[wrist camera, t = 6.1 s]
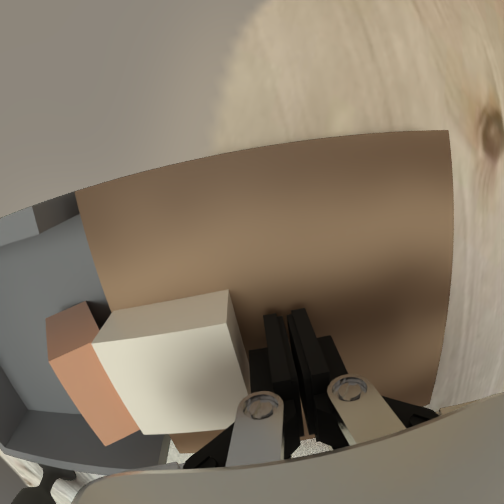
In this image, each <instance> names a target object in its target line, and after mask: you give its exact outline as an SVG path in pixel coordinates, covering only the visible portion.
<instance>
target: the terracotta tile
mask: <svg viewBox="0 0 504 504" xmlns="http://www.w3.org/2000/svg"><path fill="white" fill-rule="evenodd" d="M45 320H46V338H47V351H48V362H49V363H50V365H51V367H52V369H53V370H54V372H55V374H56V375H57V377H58V379H59V380H60V382H61V384H62V385H63V387H64V389H65V390H66V392H67V393H68V395H69V396H70V398H71V399H72V401H73V402H74V404H75V405H76V407H77V408H78V410H79V411H80V413H81V414H82V416H83V417H84V418H85V420H86V421H87V423H88V424H89V425H90V427H91V428H92V430H93V431H94V432H95V434H96V435H97V436H98V438H99V439H100V440H101V441H102V443H103V444H104V445H105V446H107V445H109V444H112V443H114V442H116V441H118V440H120V439H122V438H124V437H126V436H128V435H130V434H132V433H134V432H136V431H138V430H140V428H139V427H138V425H137V424H136V422H135V420H134V419H133V417H132V416H131V414H130V413H129V411H128V409H127V408H126V406H125V405H124V403H123V401H122V400H121V398H120V396H119V394H118V393H117V391H116V389H115V388H114V386H113V384H112V382H111V381H110V379H109V377H108V375H107V373H106V371H105V370H104V368H103V366H102V364H101V362H100V360H99V358H98V356H97V354H96V352H95V350H94V348H93V346H92V344H91V343H92V342H93V340H94V338H95V337H96V335H97V334H98V332H99V331H100V330H99V328H98V326H97V324H96V322H95V320H94V318H93V316H92V314H91V311H90V309H89V307H88V305H87V303H86V301H84V302H82V303H79V304H77V305H75V306H73V307H70V308H68V309H66V310H63V311H61V312H59V313H57V314H54V315H52V316H50V317H48V318H45Z"/></svg>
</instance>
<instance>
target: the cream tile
mask: <svg viewBox="0 0 504 504" xmlns="http://www.w3.org/2000/svg"><path fill="white" fill-rule="evenodd" d="M91 344H92V346H93V348H94V350H95V352H96V354H97V356H98V358H99V360H100V362H101V364H102V366H103V368H104V370H105V371H106V373H107V375H108V377H109V379H110V381H111V382H112V384H113V386H114V388H115V389H116V391H117V393H118V394H119V396H120V398H121V400H122V401H123V403H124V405H125V406H126V408H127V409H128V411H129V413H130V414H131V416H132V417H133V419H134V420H135V422H136V424H137V425H138V427H139V428H140V430H141V431H142V433H143V434H144V435H150V434H174V433H189V432H201V431H211V430H220V429H226V428H228V427H229V426H230V425H231V424H232V423H234V422H235V418H236V413H237V408H238V405H239V403H240V401H241V400H242V399H243V398H244V397H246V396H248V395H249V394H251V387H250V369H249V362H248V359H247V355H246V352H245V348H244V345H243V341H242V338H241V334H240V330H239V327H238V323H237V319H236V316H235V312H234V308H233V304H232V301H231V297H230V293H229V289H228V290H223V291H218V292H213V293H207V294H202V295H197V296H192V297H187V298H182V299H176V300H171V301H166V302H160V303H155V304H149V305H144V306H138V307H132V308H127V309H121V310H115V311H113V312H112V313H111V315H110V316H109V318H108V319H107V321H106V322H105V324H104V325H103V327H102V328H101V329H100V331H99V332H98V334H97V335H96V337H95V338H94V340H93V342H92V343H91Z"/></svg>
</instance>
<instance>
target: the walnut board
mask: <svg viewBox="0 0 504 504" xmlns="http://www.w3.org/2000/svg"><path fill="white" fill-rule="evenodd" d="M75 196H76V200H77V204H78V208H79V212H80V216H81V220H82V224H83V227H84V231H85V234H86V238H87V241H88V245H89V248H90V251H91V255H92V258H93V261H94V264H95V267H96V270H97V273H98V276H99V279H100V282H101V285H102V288H103V291H104V294H105V296H106V299H107V302H108V305H109V307H110V310H111V312H113V311H115V310H121V309H127V308H132V307H138V306H144V305H149V304H155V303H160V302H166V301H171V300H176V299H182V298H187V297H192V296H197V295H202V294H207V293H213V292H218V291H223V290H228V289H229V293H230V297H231V301H232V304H233V308H234V312H235V316H236V319H237V323H238V327H239V330H240V334H241V338H242V341H243V345H244V348H245V352H246V355H247V359H248V362H249V350H253V349H260V348H265V347H267V341H266V334H265V327H264V320H263V315H268V314H273V313H276V314H277V316H283V320H284V324H285V328H286V332H287V336H288V340H289V344H290V337H289V330H288V323H287V315H288V314H291V310H295V309H300V308H305V309H306V312H307V314H308V317H309V319H310V322H311V324H312V327H313V330H314V332H315V335H316V337H317V338H318V337H323V336H328V335H330V336H331V337H332V339H333V341H334V343H335V345H336V348H337V350H338V352H339V354H340V356H341V359H342V361H343V363H344V365H345V368H346V370H347V372H348V374H357V375H361V376H363V377H366V378H367V379H368V380H369V381H370V382H371V383H372V385H373V386H374V387H375V389H376V390H377V391H378V392H379V394H380V395H381V396H385V397H388V398H392V399H395V400H399V401H402V402H406V403H409V404H413V405H417V406H421V407H422V406H425V405H428V404H430V400H431V396H432V392H433V388H434V384H435V379H436V375H437V370H438V366H439V361H440V356H441V351H442V345H443V339H444V333H445V327H446V320H447V313H448V305H449V296H450V286H451V274H452V259H453V235H454V200H453V176H452V161H451V150H450V140H449V131H448V130H430V131H403V132H386V133H372V134H360V135H349V136H339V137H330V138H321V139H313V140H305V141H297V142H290V143H283V144H276V145H270V146H264V147H258V148H252V149H246V150H240V151H235V152H229V153H224V154H219V155H214V156H209V157H204V158H199V159H195V160H190V161H186V162H181V163H177V164H172V165H168V166H164V167H160V168H156V169H152V170H148V171H144V172H140V173H136V174H133V175H129V176H125V177H121V178H118V179H114V180H111V181H107V182H104V183H100V184H97V185H94V186H90V187H87V188H84V189H81V190H78V191H75ZM290 348H291V345H290ZM300 400H301V398H300ZM301 408H302V417H303V426H304V435H305V436H303V437H300V441H301V440H306V439H311V438H315V434H313V435H309V433H308V428H307V424H306V420H305V415H304V411H303V407H302V403H301ZM224 430H225V429H220V430H211V431H201V432H189V433H174V434H169V436H170V438H171V439H172V441H173V443H174V444H175V446H176V448H177V450H178V451H179V453H196V452H197V451H199V450H200V449H201V448H202V447H204V446H205V445H206V444H208V443H209V442H210V441H211V440H213V439H214V438H215V437H217V436H218V435H219V434H220V433H221V432H223V431H224Z"/></svg>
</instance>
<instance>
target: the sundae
mask: <svg viewBox="0 0 504 504" xmlns="http://www.w3.org/2000/svg"><path fill="white" fill-rule="evenodd" d="M38 464H39V463H38ZM39 465H40V466H41V467H42V468H43V477H42V480H41V483H40V485H39V486H37V487H28V488H23V489H22V490H21V491H20V492H19V493H18V495H17V496H16V497H15V499H14V500H13V502H12V503H11V504H56V502H55V501H54V499H53V498H52V496H51V493H50V491H51V488H52V486H53V484H54V482H55V481H56V480H57V479H58V478H61V479H64V480H70V481H71V480H75V478H76V475H75V473H74V471H73V470H67V469H62V468H57V467H52V466H48V465H43V464H39Z"/></svg>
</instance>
